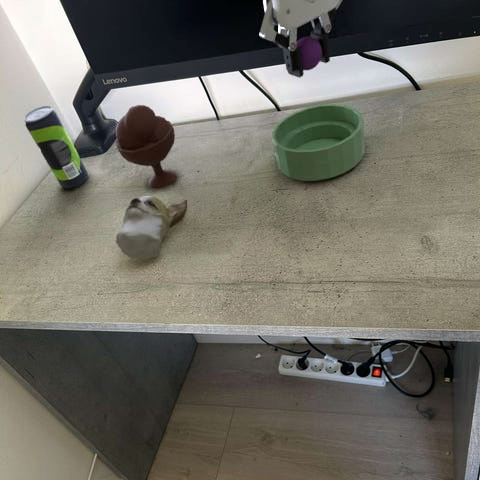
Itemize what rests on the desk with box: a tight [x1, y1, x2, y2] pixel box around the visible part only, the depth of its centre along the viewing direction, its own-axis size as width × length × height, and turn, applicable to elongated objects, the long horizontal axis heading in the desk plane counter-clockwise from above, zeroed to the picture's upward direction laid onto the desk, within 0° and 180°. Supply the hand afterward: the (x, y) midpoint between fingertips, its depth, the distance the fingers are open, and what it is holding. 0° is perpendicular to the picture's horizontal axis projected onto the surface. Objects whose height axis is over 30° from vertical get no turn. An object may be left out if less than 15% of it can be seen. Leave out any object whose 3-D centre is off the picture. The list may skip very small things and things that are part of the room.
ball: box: [296, 36, 322, 71], centre depth 73 cm, size 4×4×4 cm
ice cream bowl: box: [114, 104, 177, 190], centre depth 89 cm, size 11×11×15 cm
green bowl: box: [271, 103, 366, 182], centre depth 84 cm, size 15×15×6 cm
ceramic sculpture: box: [115, 195, 188, 262], centre depth 79 cm, size 11×9×15 cm
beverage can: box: [23, 105, 89, 189], centre depth 97 cm, size 6×6×15 cm
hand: (308, 66), depth 74 cm, fingers closed on ball, 4 cm apart
